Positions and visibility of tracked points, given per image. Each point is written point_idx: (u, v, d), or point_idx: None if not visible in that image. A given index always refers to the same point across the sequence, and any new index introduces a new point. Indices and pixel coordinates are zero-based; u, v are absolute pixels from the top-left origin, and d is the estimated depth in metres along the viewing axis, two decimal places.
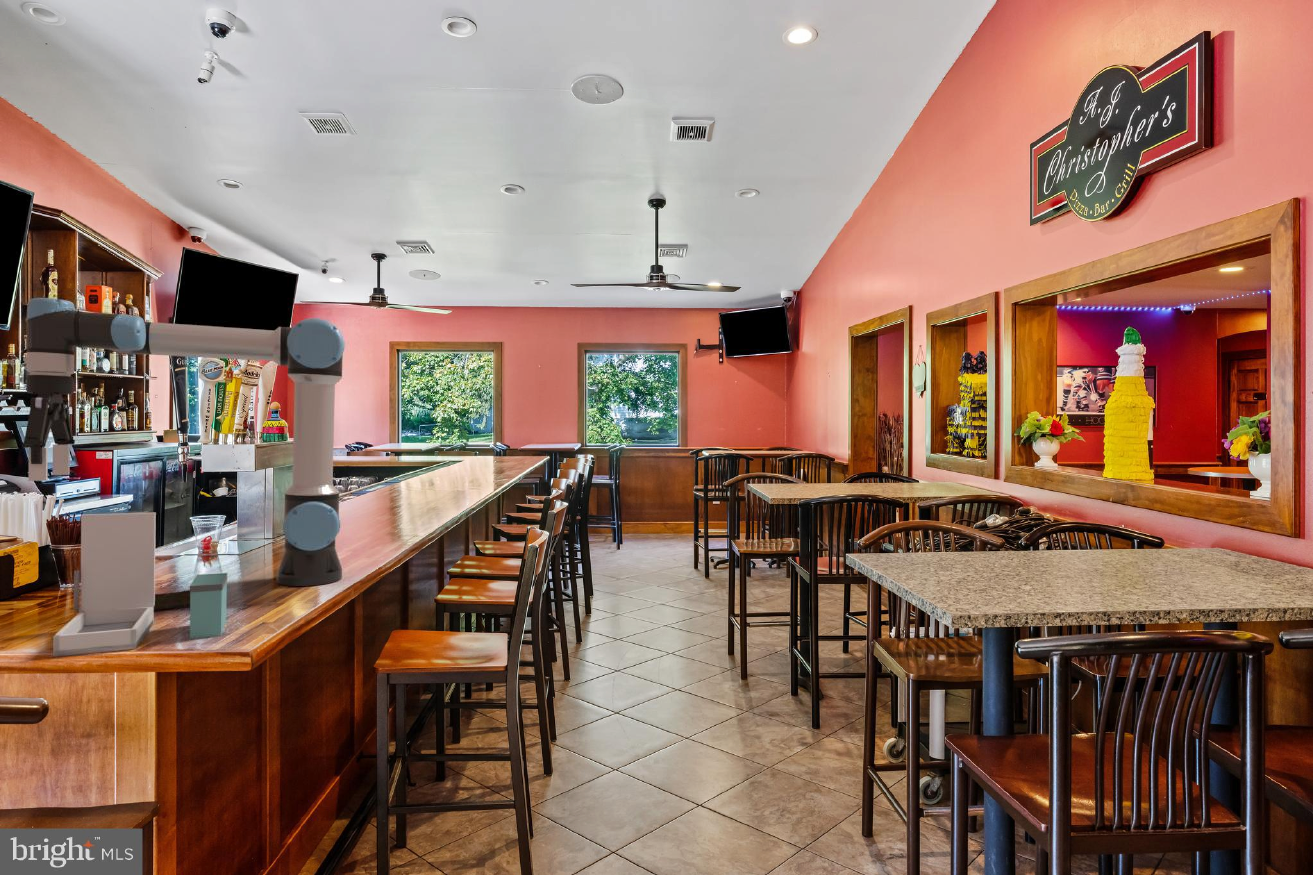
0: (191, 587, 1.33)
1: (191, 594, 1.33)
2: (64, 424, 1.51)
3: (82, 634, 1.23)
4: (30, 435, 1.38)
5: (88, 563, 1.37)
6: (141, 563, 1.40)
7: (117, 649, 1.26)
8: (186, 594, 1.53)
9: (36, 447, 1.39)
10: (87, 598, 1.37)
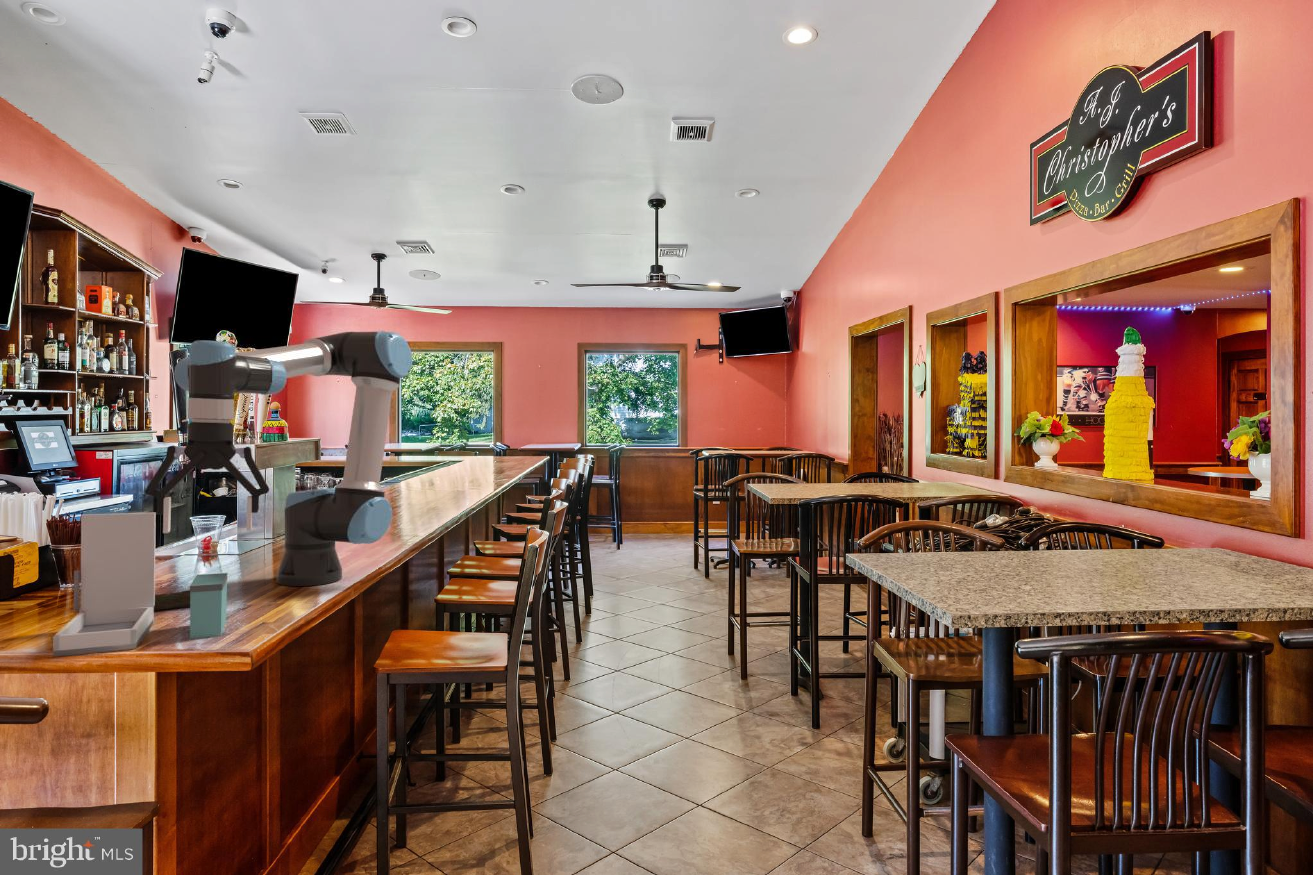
0: (191, 587, 1.33)
1: (191, 594, 1.33)
2: (235, 474, 1.39)
3: (82, 634, 1.23)
4: None
5: (88, 563, 1.37)
6: (141, 563, 1.40)
7: (117, 649, 1.26)
8: (187, 594, 1.53)
9: (156, 497, 1.34)
10: (87, 598, 1.37)
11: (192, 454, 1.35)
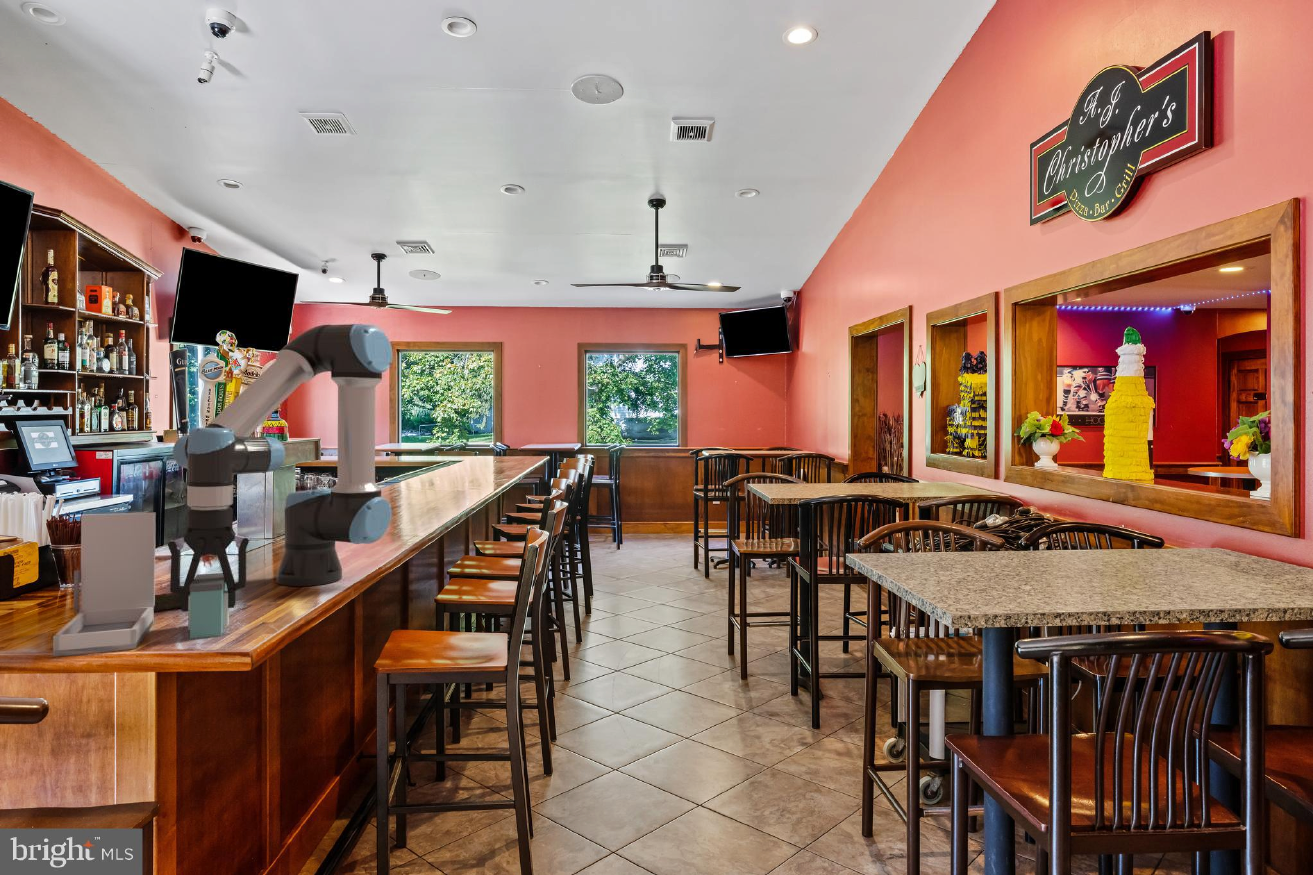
0: (191, 587, 1.33)
1: (191, 594, 1.33)
2: (223, 565, 1.38)
3: (82, 634, 1.23)
4: None
5: (88, 563, 1.37)
6: (141, 563, 1.40)
7: (117, 649, 1.26)
8: None
9: None
10: (87, 598, 1.37)
11: (193, 540, 1.36)
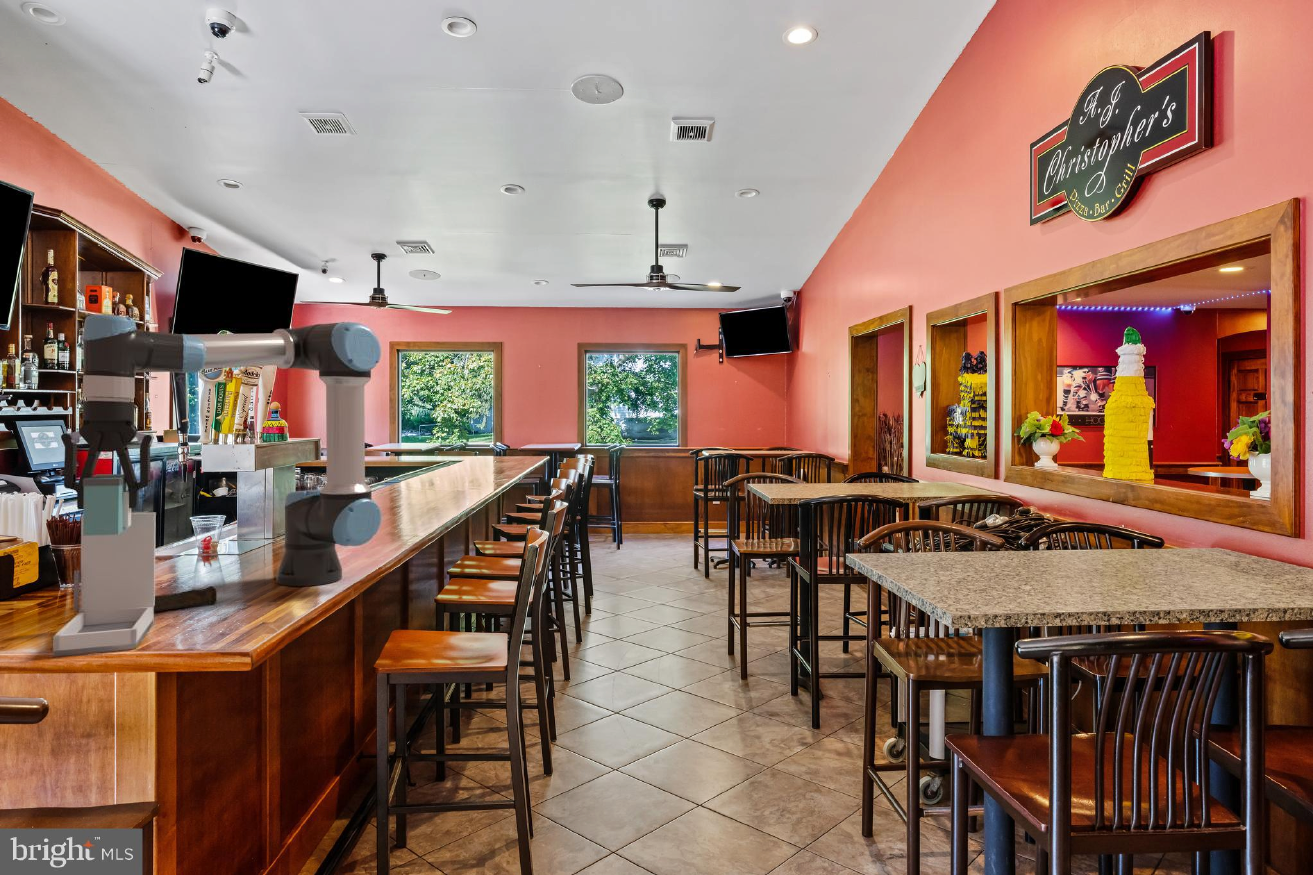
0: (84, 480, 1.25)
1: (84, 488, 1.25)
2: (123, 461, 1.31)
3: (82, 634, 1.23)
4: None
5: (88, 563, 1.37)
6: (141, 563, 1.40)
7: (117, 649, 1.26)
8: (188, 594, 1.53)
9: None
10: (87, 598, 1.37)
11: (89, 434, 1.28)
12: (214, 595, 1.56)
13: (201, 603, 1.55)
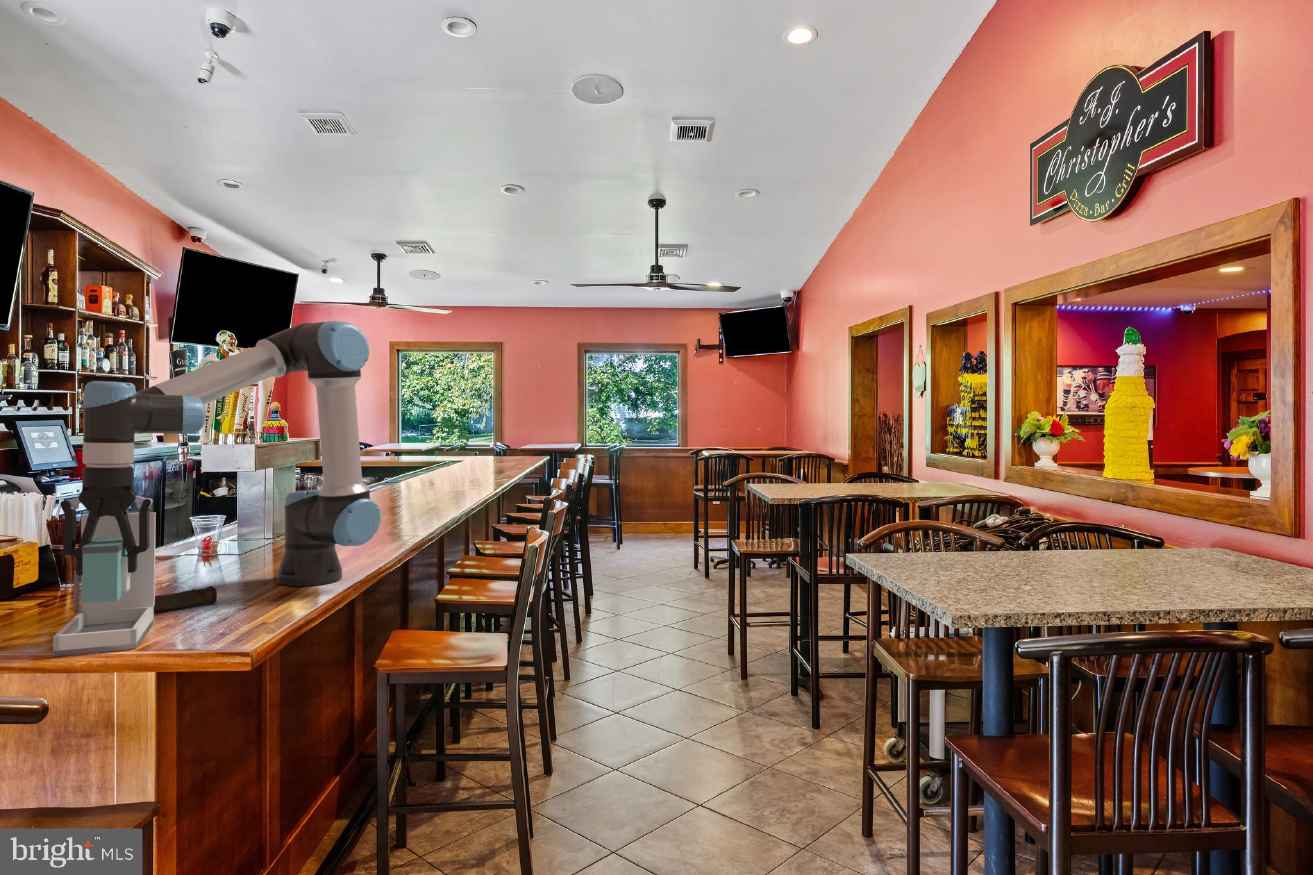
0: (83, 548, 1.25)
1: (83, 555, 1.25)
2: (122, 526, 1.31)
3: (82, 634, 1.23)
4: None
5: None
6: (141, 563, 1.40)
7: (117, 649, 1.26)
8: (189, 594, 1.53)
9: None
10: None
11: (89, 500, 1.29)
12: (214, 595, 1.56)
13: (201, 603, 1.55)
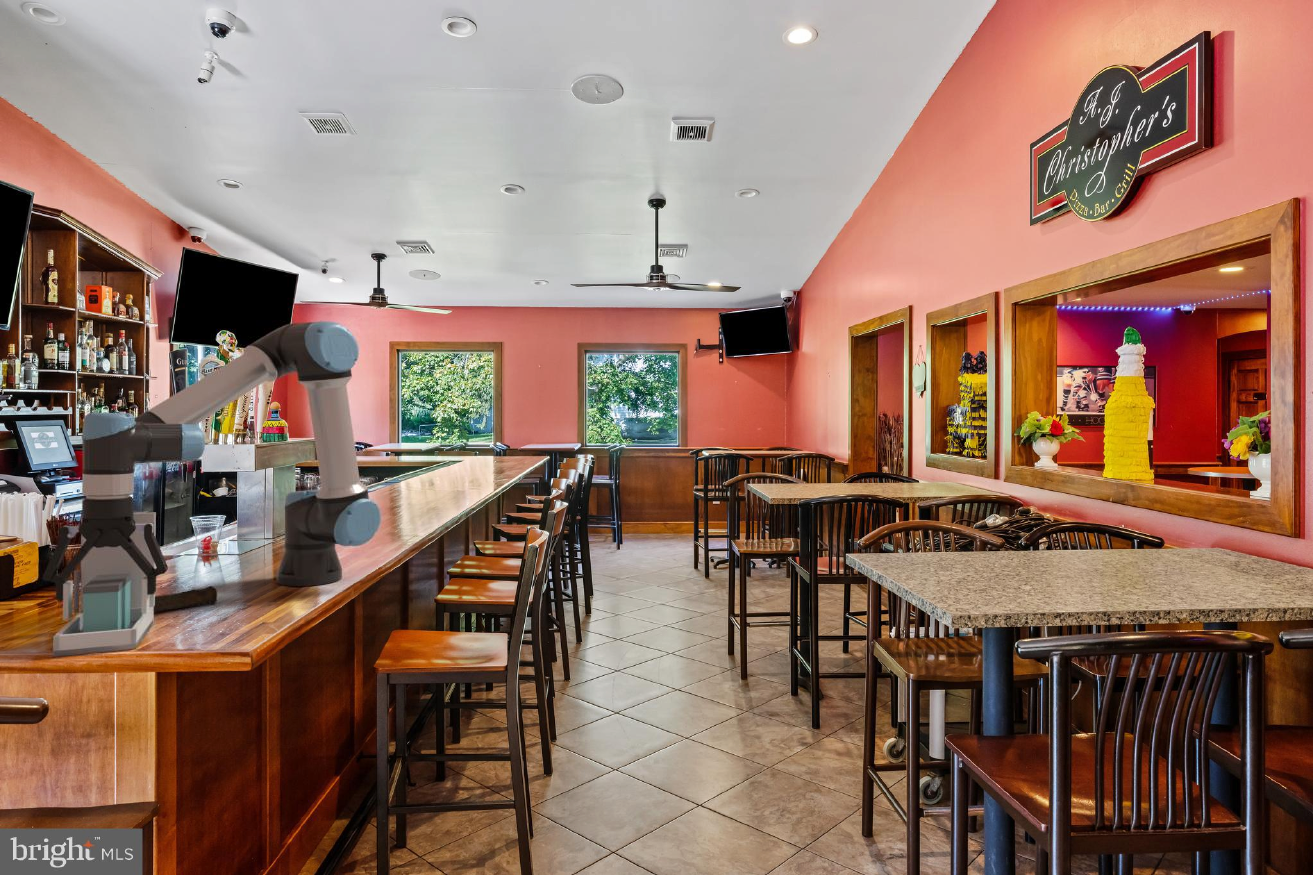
0: (84, 588, 1.26)
1: (84, 596, 1.26)
2: (132, 553, 1.32)
3: (82, 634, 1.23)
4: None
5: (88, 563, 1.37)
6: None
7: (117, 649, 1.26)
8: (189, 594, 1.53)
9: None
10: None
11: (87, 532, 1.29)
12: (214, 595, 1.57)
13: (201, 603, 1.55)
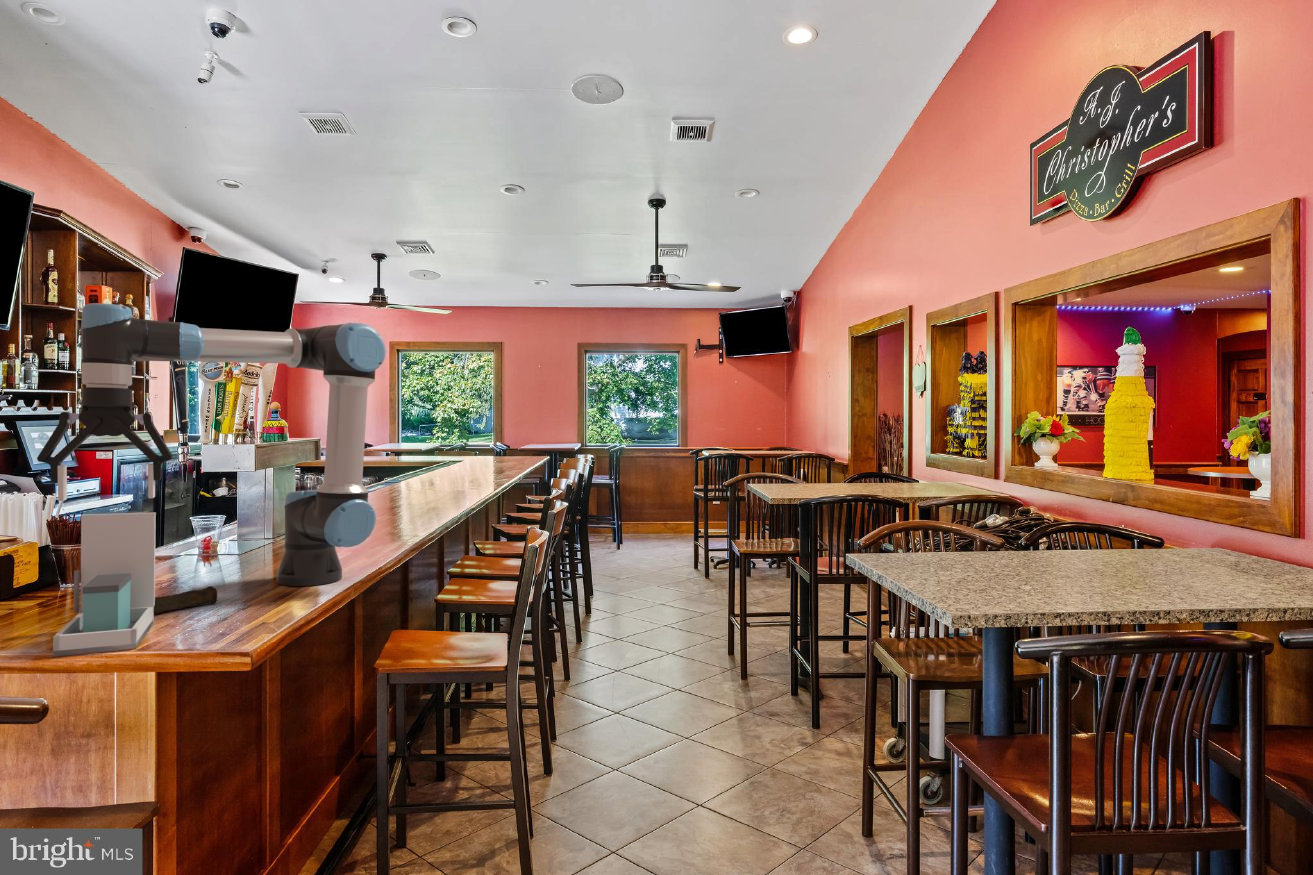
0: (84, 588, 1.26)
1: (84, 596, 1.26)
2: (134, 441, 1.36)
3: (82, 634, 1.23)
4: None
5: (88, 563, 1.37)
6: (141, 563, 1.40)
7: (117, 649, 1.26)
8: (190, 594, 1.53)
9: (49, 464, 1.31)
10: None
11: (87, 420, 1.32)
12: (215, 595, 1.57)
13: (202, 603, 1.55)
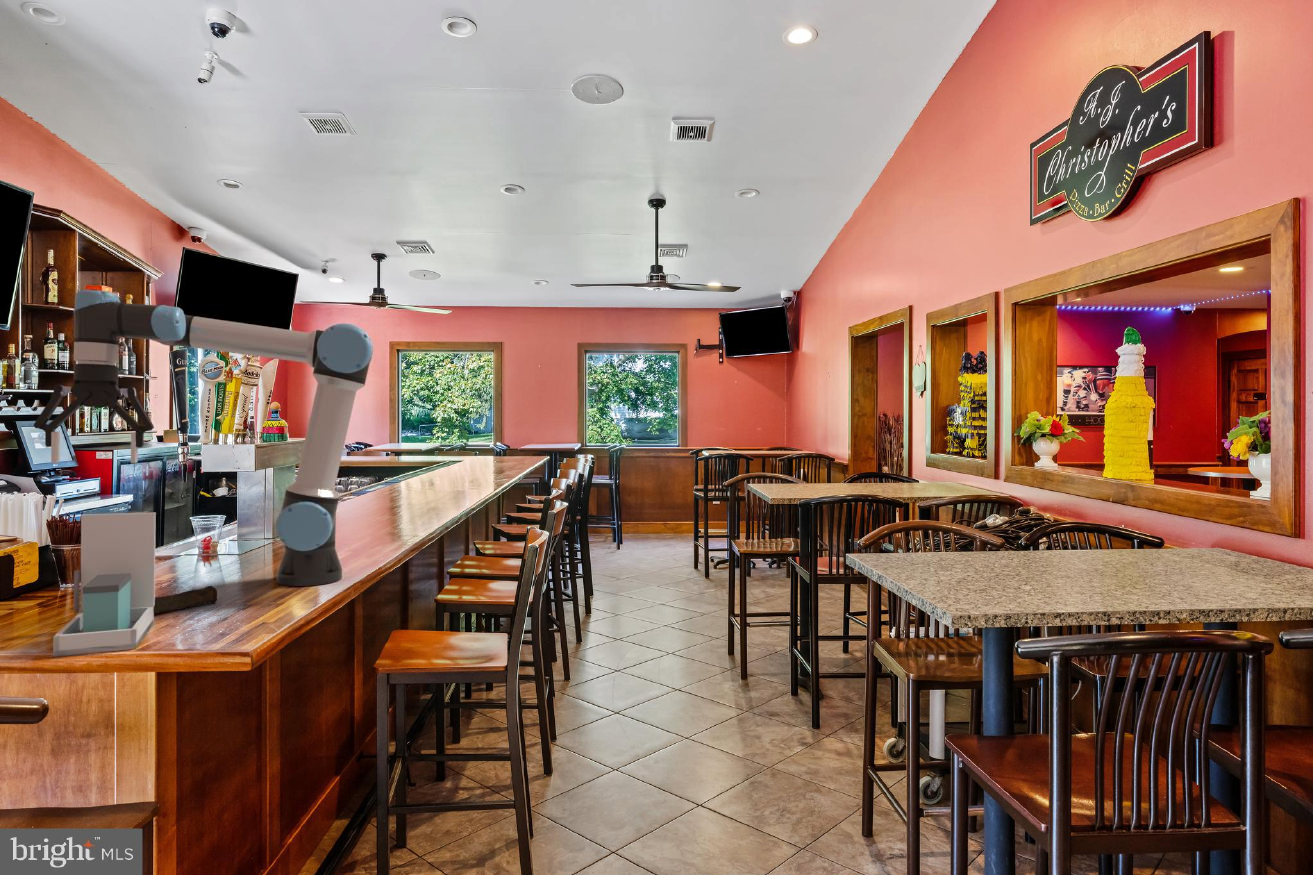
0: (84, 588, 1.26)
1: (84, 596, 1.26)
2: (119, 412, 1.54)
3: (82, 634, 1.23)
4: None
5: (88, 563, 1.37)
6: (141, 563, 1.40)
7: (117, 649, 1.26)
8: (191, 594, 1.53)
9: (45, 431, 1.49)
10: None
11: (78, 393, 1.51)
12: (215, 594, 1.57)
13: (202, 603, 1.55)
